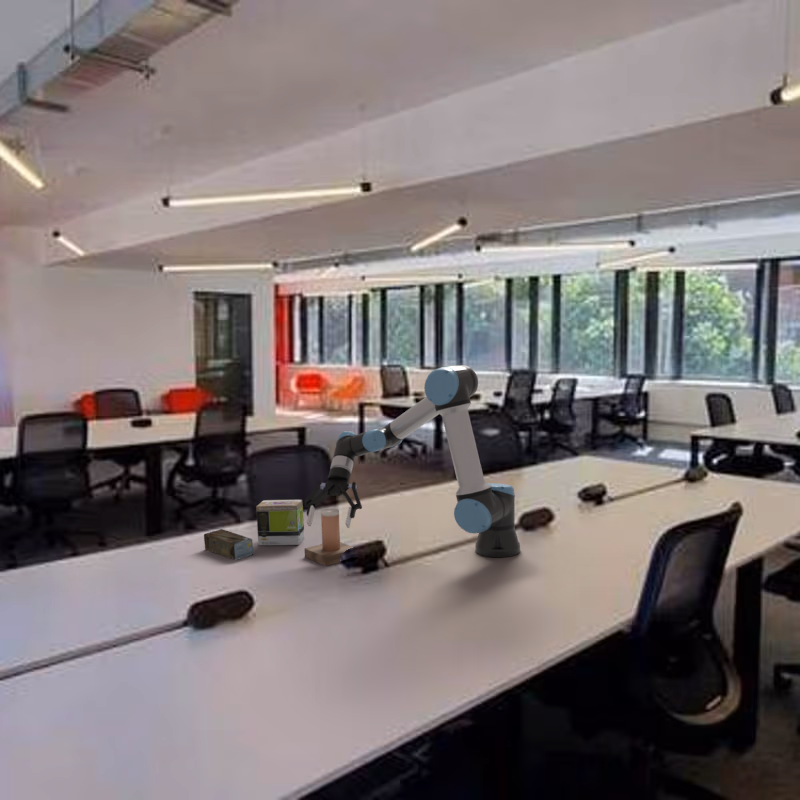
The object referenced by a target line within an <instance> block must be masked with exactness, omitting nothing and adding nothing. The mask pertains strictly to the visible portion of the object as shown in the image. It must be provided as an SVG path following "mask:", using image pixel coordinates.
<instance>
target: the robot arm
mask: <svg viewBox="0 0 800 800" xmlns="http://www.w3.org/2000/svg"><path fill="white" fill-rule="evenodd" d="M478 387H479V378H478V375H477V373H476V371H474V369H473V368H471V367H470V366H467V365H463V364H457V365H451V366H442V367H438V368H436V369H434V370H431V372H430V373H429V374H428V376H427V377H426V378H425V382H424V393H425V397H424V398H422V399H421V400H420V401H418V402H417V403H415V404H414V405H413V406H412V407H410V408H408V409H407V410H406V411H405V412H402V414H400V415H399V416H397V417H396V418H395V419H393V420H392V421H390V422H389V423H387V424H386V425H385V426H383V427H381V428H375V429H370V430H367V431H364V432H361V433H359V434H357V433H355V432H353V431H342V432H341V433H340V434H339V435H338V438H337V441H336V443H335V448H334V452H333V457H332V461H331V464H330V470H329V473H328V476H327V481H326V482H322V481H321V480H319V481H318V482H317V483H316V486H315V488H314V489H312V491H311V492H310V494H308V496H307V497H306V499H305V500H304V501H303V504H304V506H305V508H307V510H306V516H307V519H306V524H307V526H308V527H312V523H313V519H314V516H315V513H316V509H315V507H317V506H318V505H319V504H320V503H322V502H323V501H325V499H327V498H329V497H330V496H332V497H335V496H337V497H341V496H343V497H344V499H345V500H346V501H347V503H348V504H349V506H348V510H347V515H346V519H345V522H344V523H345V526H346V528H347V529H350V527H351V522H352V519H354V518H355V517H356V512H357V511H358V510H361V509H363V505H362V503H361V500H360V497H359V494H358V486H357V483H356V481H353V482H352V483H350V480H351V475H352V472H353V469H354V468H353V467H354V463H355V458H357V457H361V456H364V455H368V454H372V453H376V452H378V451H382V450H385V449H388V448H393V447H396V446H398V445H400V444H401V443H402V442H403V440H404V439H405V438H406V437H408V436H409V435H411V434H412V433H414V432H416V431H417V430H418V429H420V428H421V427H423V426H424V425H425V424H426V423H428V422H429V421H431V420H433V419H434V418H436V417H437V416H439V415H440V417H442V418H441V419H442V421H443V427H444V430H445V435H446V438H447V439H446V440H447V443H448V448H449V451H450V456H451V461H452V464H453V469H454V473H455V477H456V481H457V485H458V488H457V491H456V492H455V496H456V497H455V498H456V502H457V503H456V505H455V507H454V511H453V516H454V519H455V522H456V524H457V525H458V527H459V528H460V529H462V530H463V531H465V532H467V533H469V534H478V535H477V539H476V542H475V548H474V549H475V550H474V551H475V553H477V554H478V555H480V556H484V557H489V558H506V557H507V558H509V557H513V556H516V555H518V554H520V553H521V543H520V541H519V538H518V536H517V535H518V534H517V532H516V529H515V527H516V525H515V523H516V522H515V519H516V518H515V511H516V509H515V506H516V505H515V497H516V495H515V489H514V487H513V486H512V485H510V484H506V483H492V482H491V483H489V482H488V483H487V482H486V481H485V477H484V473H483V469H482V465H481V461H480V457H479V452H478V448H477V442H476V440H475V434H474V430H473V427H472V423H471V418H470V414H469V408H470V407H471V404H472V403H471V397H473V396H474V395H475V393H476V392H477V390H478ZM349 489H350V490H351V491H352V493H353V496H354V499H355V502H356V503H355V502H354V501H353V500H352V498H351V497H350V496H349V494H348V492H347V491H348V490H349Z"/></svg>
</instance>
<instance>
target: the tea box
mask: <svg viewBox="0 0 800 800" xmlns="http://www.w3.org/2000/svg"><path fill="white" fill-rule="evenodd" d="M303 504H304V502H303V499H266V500H265V499H264V500H262V501H261V502H260V503H259V504H258V505H256V506H255V508H256V510H255V512H256V527H257V528H256V530H257V543H258V546H299V545H300V544H301V543H302V541H304V539H305V524H304V523H305V522H304V519H305V518H304V506H303Z"/></svg>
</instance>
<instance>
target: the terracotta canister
mask: <svg viewBox="0 0 800 800" xmlns="http://www.w3.org/2000/svg"><path fill="white" fill-rule="evenodd" d="M320 515H321V516H320V518H321V521H320V522H321V542H322V543H321V544H322V549H323V550H325V551H336V550H339V549H340V542H341V532H340V531H341V530H340V527H341V526H340V509H338V508H324V509H321V511H320Z"/></svg>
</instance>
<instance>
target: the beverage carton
mask: <svg viewBox="0 0 800 800" xmlns="http://www.w3.org/2000/svg"><path fill="white" fill-rule="evenodd" d="M203 539H204V540H203V542H204V549H205V550H206V551H209V552H212V553H215V554H217V555H220V556H223V557H225V556H226V557H225V558H228V557H229V559H232V558H233V559H232V560H235V559H237V560H240V559H243V558H242V557H244V558H247V557H249V555H250V556H253V555H254V546H253V542H254V541H253V539H252V538H249V537H247V536H244V535H241V534H239V533H236V532H233V531H230V530H229V531H228V530H225V529H222V528H221V529H218V530H212V531H211V532H207V533H204V534H203ZM252 554H253V555H252ZM246 556H247V557H246ZM239 558H240V559H239Z"/></svg>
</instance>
